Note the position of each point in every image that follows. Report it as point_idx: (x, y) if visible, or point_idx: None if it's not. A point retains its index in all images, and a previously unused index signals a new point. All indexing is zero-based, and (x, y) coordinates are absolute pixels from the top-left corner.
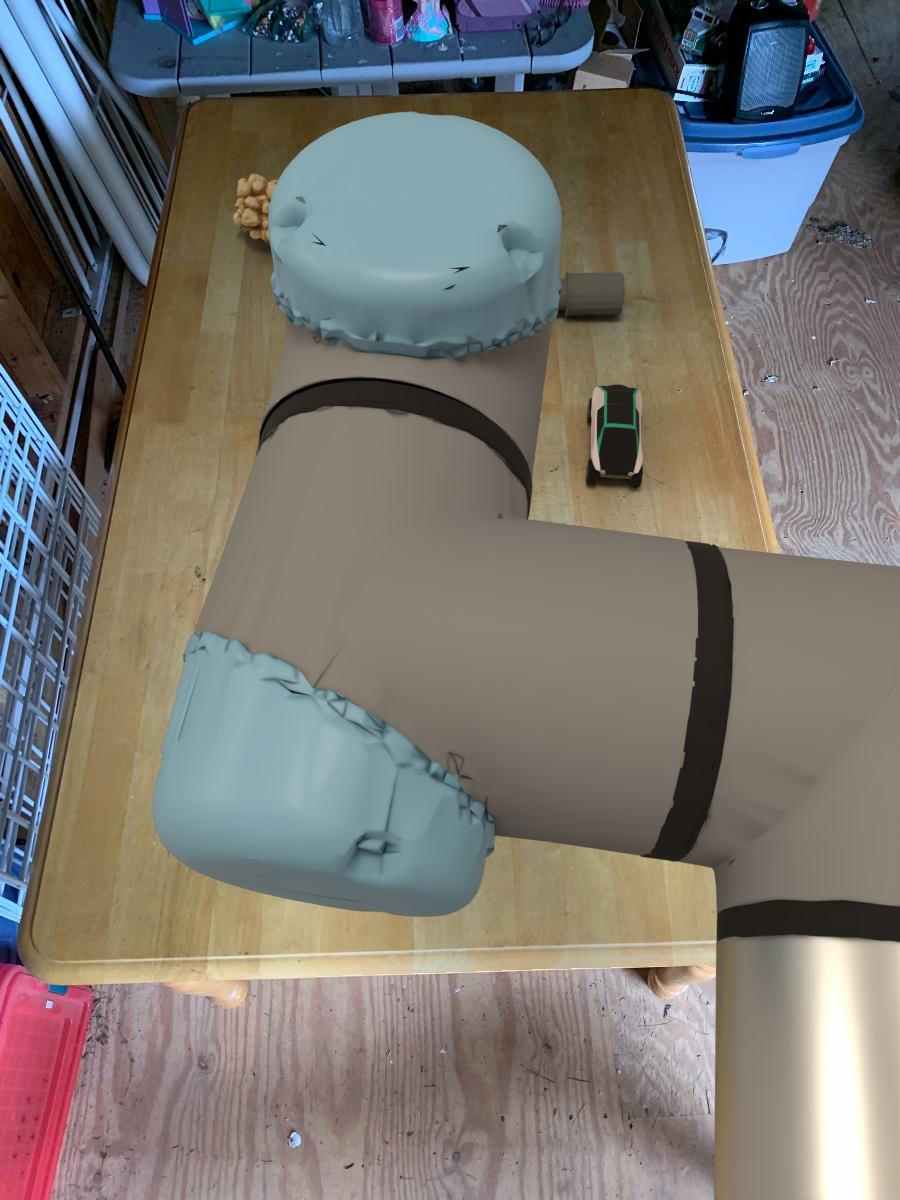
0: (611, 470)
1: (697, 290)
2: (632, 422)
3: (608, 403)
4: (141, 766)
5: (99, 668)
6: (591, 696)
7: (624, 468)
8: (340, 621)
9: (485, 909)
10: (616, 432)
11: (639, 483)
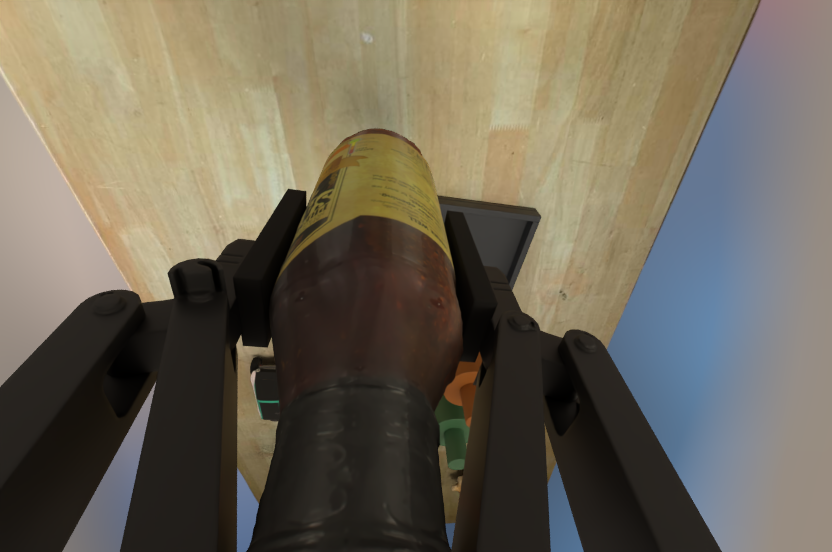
0: (272, 372)
1: (238, 459)
2: (260, 403)
3: (279, 413)
4: (631, 154)
5: (646, 230)
6: None
7: (262, 374)
8: None
9: (337, 10)
10: (270, 397)
11: (252, 362)
